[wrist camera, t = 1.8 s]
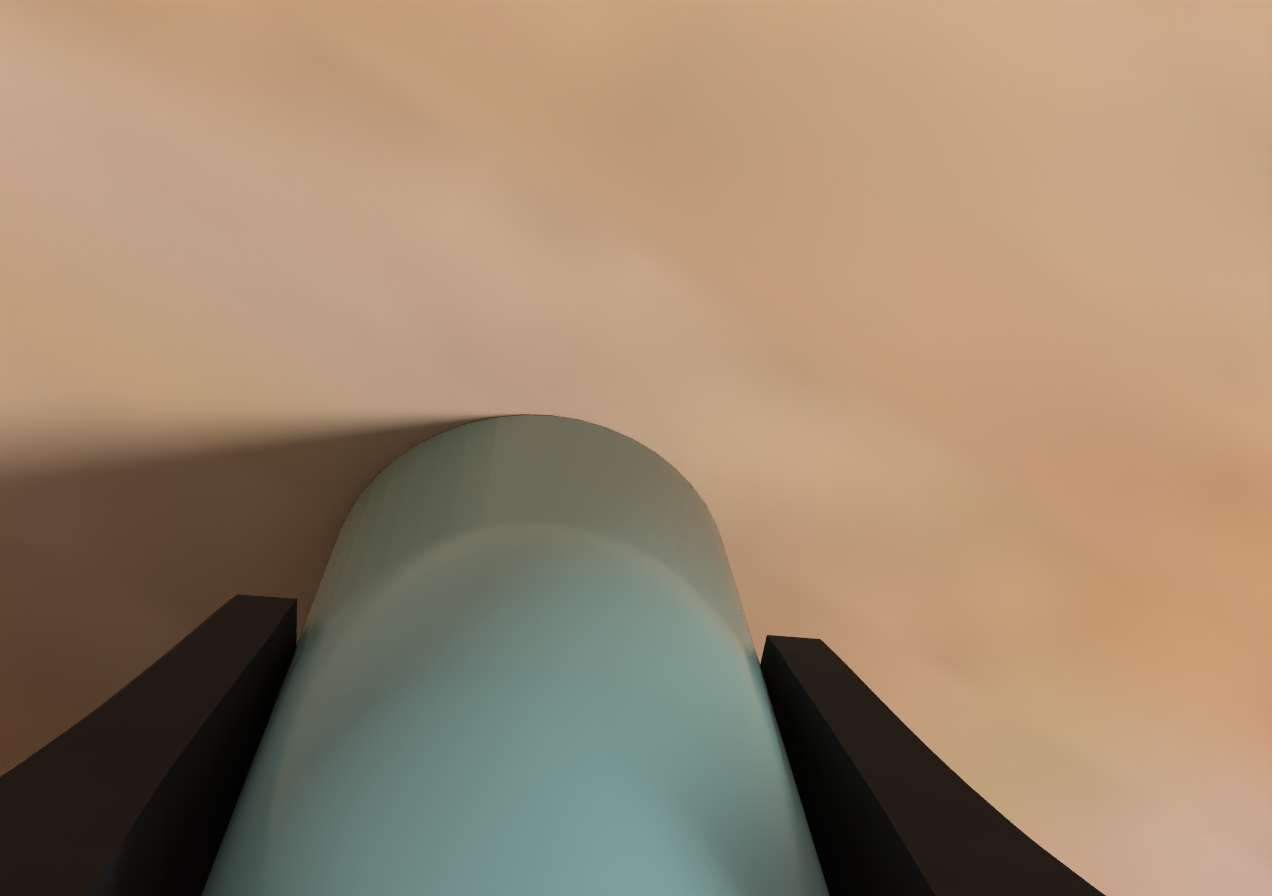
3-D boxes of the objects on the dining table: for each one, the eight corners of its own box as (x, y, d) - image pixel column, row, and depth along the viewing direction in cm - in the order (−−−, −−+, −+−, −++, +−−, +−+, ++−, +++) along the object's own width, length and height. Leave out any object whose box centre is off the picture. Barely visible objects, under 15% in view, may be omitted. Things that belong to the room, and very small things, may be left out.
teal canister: (695, 765, 14) (807, 1384, 8) (325, 743, 14) (133, 1395, 8) (762, 437, 12) (980, 917, 6) (334, 394, 12) (82, 876, 6)
